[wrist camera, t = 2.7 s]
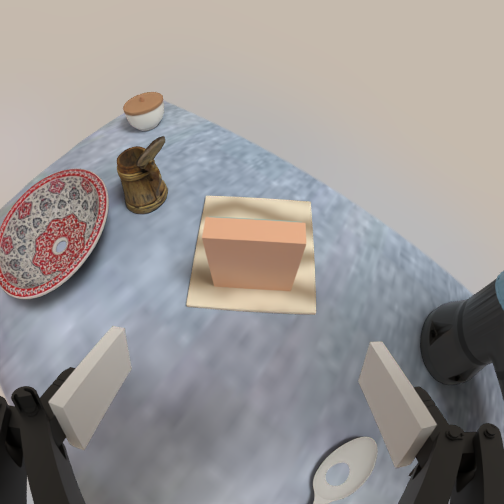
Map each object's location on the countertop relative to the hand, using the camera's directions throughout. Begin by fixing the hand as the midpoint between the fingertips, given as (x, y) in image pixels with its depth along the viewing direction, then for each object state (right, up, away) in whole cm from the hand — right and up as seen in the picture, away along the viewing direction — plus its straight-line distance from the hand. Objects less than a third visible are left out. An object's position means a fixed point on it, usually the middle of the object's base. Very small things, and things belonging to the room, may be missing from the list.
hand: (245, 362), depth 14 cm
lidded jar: (-28, +40, +55) cm, 74 cm away
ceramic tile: (0, +1, +32) cm, 32 cm away
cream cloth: (+1, +6, +35) cm, 36 cm away
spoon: (+7, -34, +13) cm, 37 cm away
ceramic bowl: (-39, +6, +35) cm, 53 cm away
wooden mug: (-19, +16, +41) cm, 48 cm away
